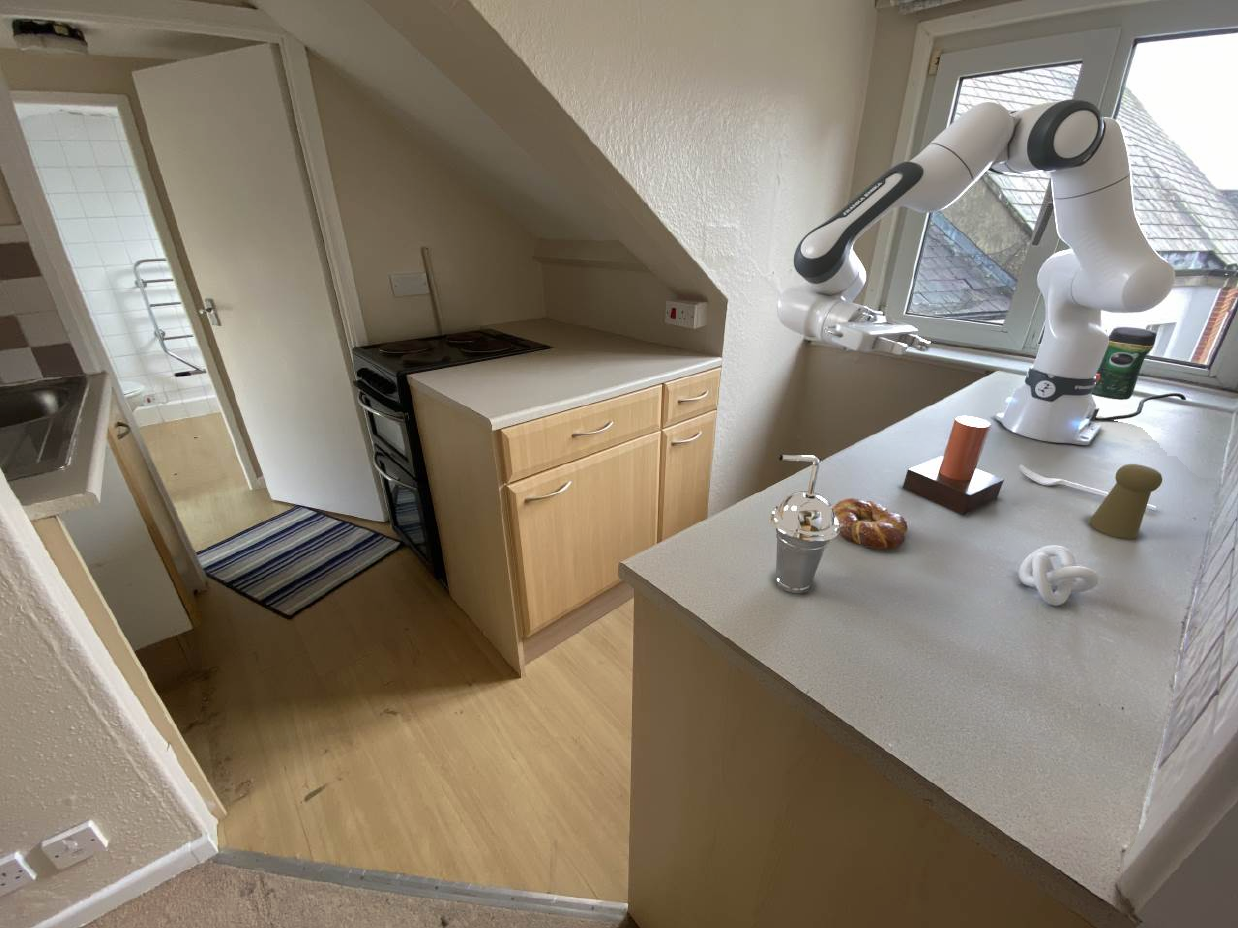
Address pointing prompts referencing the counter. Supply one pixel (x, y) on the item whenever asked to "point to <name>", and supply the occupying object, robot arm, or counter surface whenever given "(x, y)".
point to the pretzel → (869, 524)
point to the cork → (1126, 501)
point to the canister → (964, 448)
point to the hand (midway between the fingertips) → (916, 348)
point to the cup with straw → (802, 532)
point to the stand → (952, 487)
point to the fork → (1065, 483)
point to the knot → (1055, 574)
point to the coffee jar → (1123, 362)
